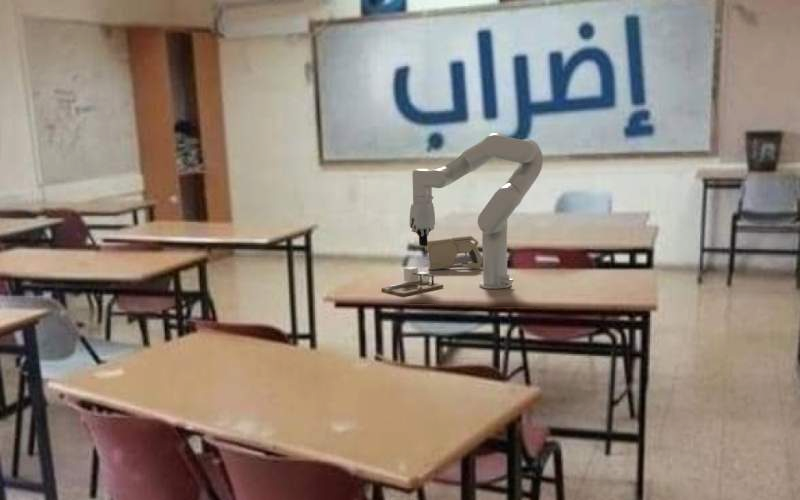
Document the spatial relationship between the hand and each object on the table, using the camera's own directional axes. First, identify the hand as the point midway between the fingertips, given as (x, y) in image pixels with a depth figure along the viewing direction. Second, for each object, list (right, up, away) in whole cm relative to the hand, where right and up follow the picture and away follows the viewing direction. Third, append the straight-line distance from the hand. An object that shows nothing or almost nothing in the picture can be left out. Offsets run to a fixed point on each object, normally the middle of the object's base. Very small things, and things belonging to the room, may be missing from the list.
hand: (423, 245), depth 320 cm
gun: (+14, -11, +31) cm, 36 cm away
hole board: (-4, -17, -6) cm, 19 cm away
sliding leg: (-3, -15, -4) cm, 16 cm away
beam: (-5, -16, -5) cm, 17 cm away
